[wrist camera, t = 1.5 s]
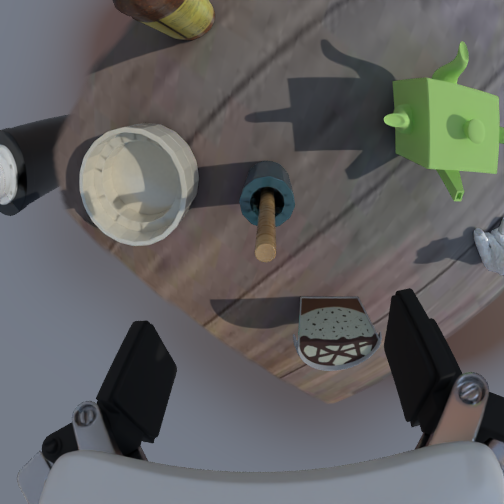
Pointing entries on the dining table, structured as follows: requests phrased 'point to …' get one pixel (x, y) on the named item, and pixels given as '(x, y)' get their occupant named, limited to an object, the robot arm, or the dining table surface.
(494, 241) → the sitting furry creature
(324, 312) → the food container
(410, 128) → the kettle
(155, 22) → the sauce bottle
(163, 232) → the bowl
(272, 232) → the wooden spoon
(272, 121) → the dining table surface
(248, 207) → the crock
